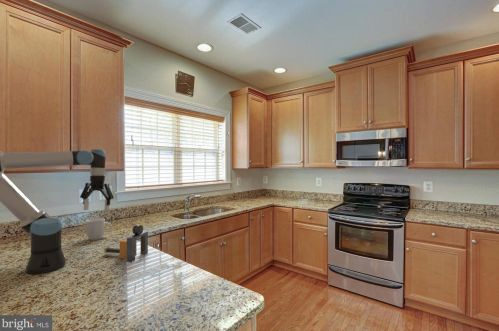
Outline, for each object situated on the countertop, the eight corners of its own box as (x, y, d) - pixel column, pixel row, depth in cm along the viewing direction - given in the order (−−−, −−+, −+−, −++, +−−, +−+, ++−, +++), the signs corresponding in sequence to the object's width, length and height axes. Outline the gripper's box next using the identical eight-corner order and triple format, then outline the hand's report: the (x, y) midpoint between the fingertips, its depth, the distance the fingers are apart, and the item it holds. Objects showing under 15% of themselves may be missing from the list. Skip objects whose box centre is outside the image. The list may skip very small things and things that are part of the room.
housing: (131, 262, 128) (131, 228, 128) (126, 261, 129) (126, 228, 129) (147, 252, 142) (147, 222, 142) (143, 252, 143) (143, 222, 143)
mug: (109, 234, 178) (109, 216, 178) (112, 238, 170) (112, 219, 169) (85, 238, 169) (85, 219, 169) (86, 242, 160) (87, 222, 160)
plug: (102, 256, 136) (102, 240, 136) (110, 252, 142) (110, 237, 142) (129, 258, 133) (129, 242, 133) (136, 254, 139) (136, 238, 139)
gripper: (120, 175, 150) (119, 210, 150) (83, 174, 153) (82, 208, 153) (112, 175, 143) (111, 212, 142) (73, 174, 146) (72, 210, 145)
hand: (96, 210), depth 148 cm, fingers open, 13 cm apart
